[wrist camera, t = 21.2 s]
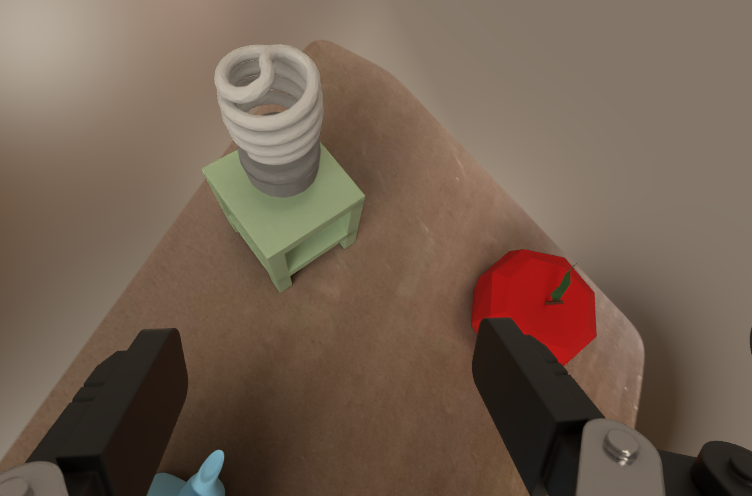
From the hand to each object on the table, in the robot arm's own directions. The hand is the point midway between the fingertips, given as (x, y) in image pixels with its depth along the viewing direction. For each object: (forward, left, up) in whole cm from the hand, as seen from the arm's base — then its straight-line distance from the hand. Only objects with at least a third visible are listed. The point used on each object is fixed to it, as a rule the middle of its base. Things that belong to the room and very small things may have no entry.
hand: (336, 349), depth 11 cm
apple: (-18, +6, -26) cm, 33 cm away
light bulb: (-6, -13, -16) cm, 22 cm away
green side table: (-6, -14, -26) cm, 30 cm away
